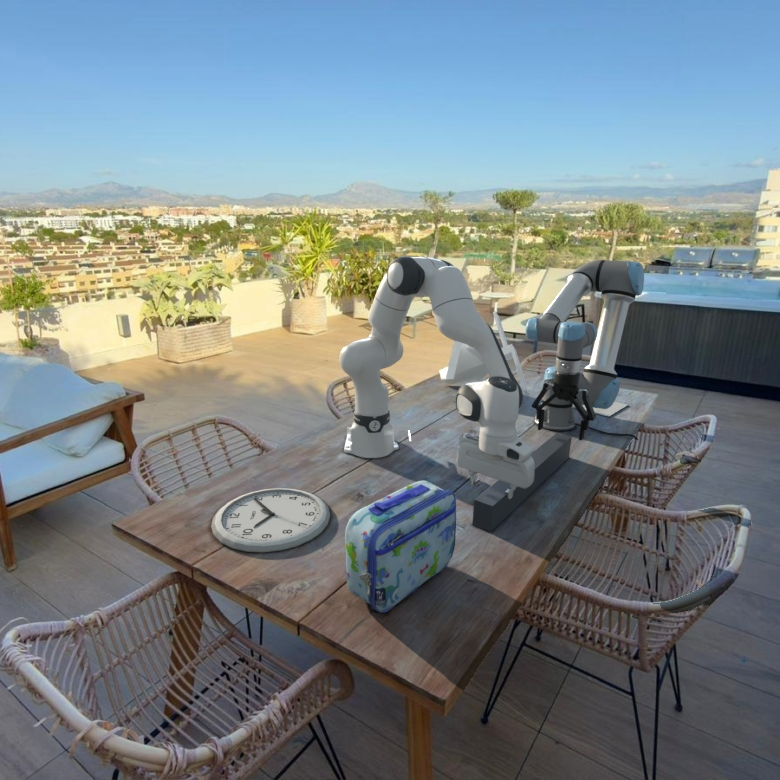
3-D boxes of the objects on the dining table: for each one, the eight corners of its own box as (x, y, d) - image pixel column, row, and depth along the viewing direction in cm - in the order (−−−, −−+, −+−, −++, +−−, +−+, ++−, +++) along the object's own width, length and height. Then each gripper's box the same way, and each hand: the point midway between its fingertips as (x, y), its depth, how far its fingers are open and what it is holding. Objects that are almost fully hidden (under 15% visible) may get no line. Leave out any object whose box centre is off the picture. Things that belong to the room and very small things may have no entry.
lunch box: (374, 626, 100) (375, 530, 93) (338, 598, 107) (337, 508, 101) (459, 568, 117) (465, 484, 111) (424, 547, 124) (427, 467, 118)
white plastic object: (461, 429, 252) (437, 405, 227) (444, 352, 274) (420, 323, 250) (535, 404, 240) (518, 377, 215) (510, 326, 262) (492, 293, 237)
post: (553, 453, 179) (556, 433, 176) (569, 457, 176) (571, 437, 173) (472, 524, 135) (474, 499, 132) (490, 531, 132) (492, 506, 129)
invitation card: (608, 416, 214) (573, 407, 224) (608, 416, 214) (573, 408, 224) (628, 404, 229) (594, 396, 238) (628, 405, 229) (594, 397, 238)
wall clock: (328, 544, 122) (196, 548, 120) (328, 550, 123) (197, 554, 120) (331, 483, 151) (225, 486, 148) (331, 488, 151) (225, 491, 149)
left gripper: (454, 434, 134) (450, 483, 138) (529, 457, 122) (523, 509, 126) (466, 427, 138) (462, 474, 143) (540, 449, 127) (533, 499, 131)
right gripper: (524, 367, 168) (519, 428, 175) (604, 381, 154) (595, 447, 161) (534, 362, 174) (528, 421, 181) (611, 375, 160) (602, 439, 167)
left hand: (491, 491), depth 134 cm, fingers open, 8 cm apart
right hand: (560, 433), depth 171 cm, fingers open, 13 cm apart
